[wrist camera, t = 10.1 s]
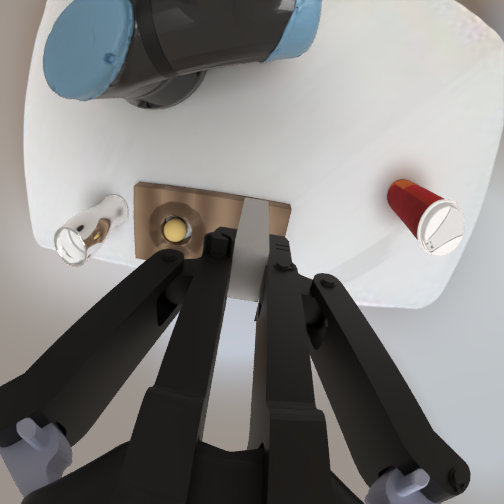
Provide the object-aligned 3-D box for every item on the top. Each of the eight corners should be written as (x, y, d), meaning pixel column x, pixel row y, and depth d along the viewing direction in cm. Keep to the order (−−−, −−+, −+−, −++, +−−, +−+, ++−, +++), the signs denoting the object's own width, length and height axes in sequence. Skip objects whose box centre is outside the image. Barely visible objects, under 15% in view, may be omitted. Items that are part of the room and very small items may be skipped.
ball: (159, 223, 46) (158, 234, 43) (176, 210, 46) (176, 220, 42) (174, 238, 48) (173, 250, 45) (191, 226, 48) (191, 236, 45)
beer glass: (121, 186, 44) (73, 219, 31) (136, 220, 47) (95, 262, 34) (94, 199, 45) (46, 233, 32) (109, 230, 48) (67, 272, 35)
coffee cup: (395, 225, 45) (434, 269, 32) (372, 192, 42) (412, 230, 29) (427, 197, 42) (474, 233, 29) (406, 163, 39) (456, 189, 26)
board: (140, 251, 50) (135, 258, 48) (139, 182, 43) (133, 186, 41) (273, 274, 51) (273, 282, 49) (290, 204, 44) (291, 209, 42)
